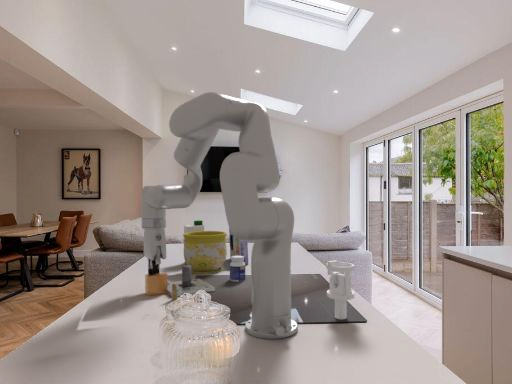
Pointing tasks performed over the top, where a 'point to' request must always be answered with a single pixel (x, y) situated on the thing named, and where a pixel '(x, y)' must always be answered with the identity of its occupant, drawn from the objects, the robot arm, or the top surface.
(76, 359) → the top surface
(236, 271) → the pill bottle
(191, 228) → the milk carton
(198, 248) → the flowerpot
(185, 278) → the board
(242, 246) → the cake pan box
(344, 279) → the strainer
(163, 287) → the flange plate
